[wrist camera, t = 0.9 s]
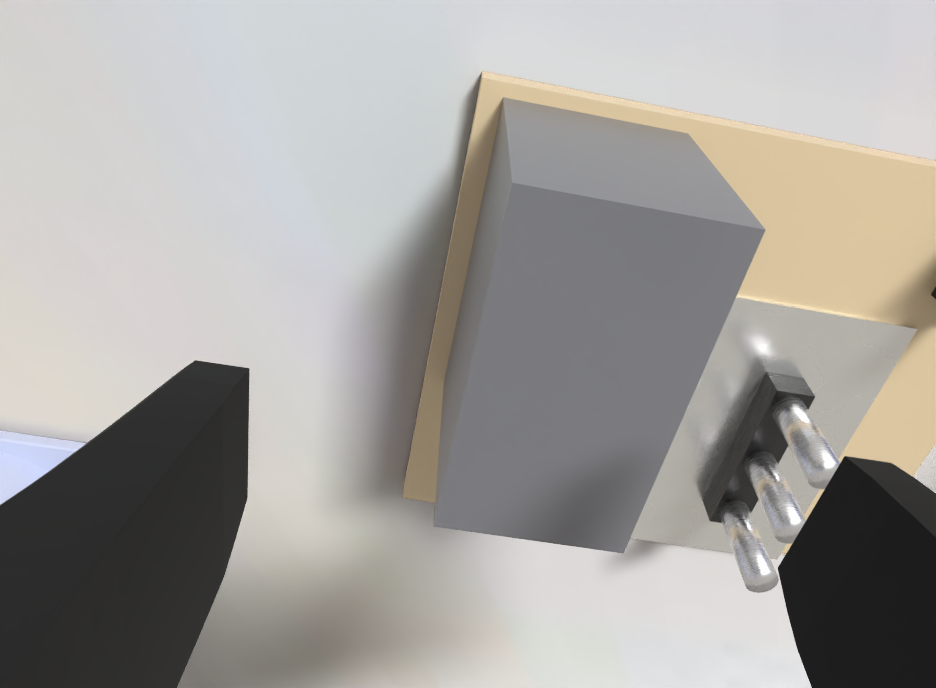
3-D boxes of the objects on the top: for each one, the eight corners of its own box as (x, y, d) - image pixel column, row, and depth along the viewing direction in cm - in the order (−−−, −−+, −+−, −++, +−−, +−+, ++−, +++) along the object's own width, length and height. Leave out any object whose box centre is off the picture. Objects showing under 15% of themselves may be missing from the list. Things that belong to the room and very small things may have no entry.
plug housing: (592, 406, 19) (623, 553, 15) (443, 382, 19) (433, 526, 15) (688, 133, 16) (765, 229, 11) (503, 97, 15) (512, 182, 11)
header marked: (776, 556, 22) (818, 652, 20) (612, 533, 22) (631, 628, 19) (915, 326, 18) (994, 409, 15) (713, 291, 18) (758, 369, 15)
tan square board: (844, 548, 23) (852, 563, 23) (404, 483, 22) (402, 498, 21) (1085, 190, 17) (1104, 201, 16) (482, 71, 15) (482, 77, 15)
